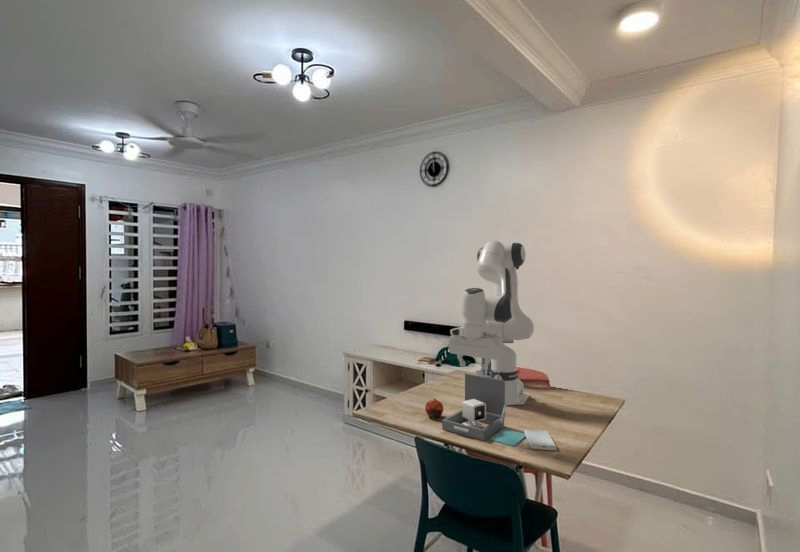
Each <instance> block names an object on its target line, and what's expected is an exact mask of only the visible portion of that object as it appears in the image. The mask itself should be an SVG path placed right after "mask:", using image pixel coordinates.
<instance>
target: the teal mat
mask: <svg viewBox="0 0 800 552" xmlns="http://www.w3.org/2000/svg"><path fill="white" fill-rule="evenodd" d="M525 438H526V436H525V434H524V433H523V432H519V431H515V430H511V429H507V428H503V429H502V430H499V432H496V434H494V435H493V436H492V437H490V438H489V441H492V442H495V443H499V444H501V445H502V444H503V445H507V446H509V447H515V446H517V445H518V444H519V443H520V442H522V441H523V440H524V439H525Z"/></svg>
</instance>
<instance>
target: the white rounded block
mask: <svg viewBox="0 0 800 552" xmlns="http://www.w3.org/2000/svg"><path fill="white" fill-rule="evenodd" d="M461 404H462V409H461V410H462V416H463V417H464V418H465V419H466V420H467V421H466V422H462V423H461V424H463V425H467V426H471V427H475V428H479V429H483V424H481V423H479V422H480V421H482V420H485V419H486V404H485V403H483V402H481V401H478V400H476V399H471V400H466V401H465V400H463V401H462V403H461Z"/></svg>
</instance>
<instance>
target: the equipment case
mask: <svg viewBox="0 0 800 552" xmlns="http://www.w3.org/2000/svg"><path fill="white" fill-rule="evenodd" d="M471 399H476V400H478V401H481V402H483V403H485V404H486V419H485V420H482V421H479V422H480V423H484V422H485V423H484V424H488V425H486V426H485V427H482V428H481V429H479V428H475V427H471V426H467V425H463V424H462V423H459V422H461V421H463V420H465V419H466V418H464V417H463V416H462V409H460V410H459V411H457V412H454V413H453V414H452V415H449V416H447V417H445V418H444V419H442V421H441V423H442V424H441V429H442V430H443V431H447V432H450V433H454V434H458V435H462V436H465V437H468V438H472V439H476V440H479V441H482V442H484V441H485V440H486V439H488V438H489V437H491V436H492V435H495V433H498V431H501V429H502V428H504V427H505V419H506V407H507V405H505V380H500V379H494V378H488V377H483V376H479V375H478V374H477V375H476V374H471V373H464V401H466V400H471Z"/></svg>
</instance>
